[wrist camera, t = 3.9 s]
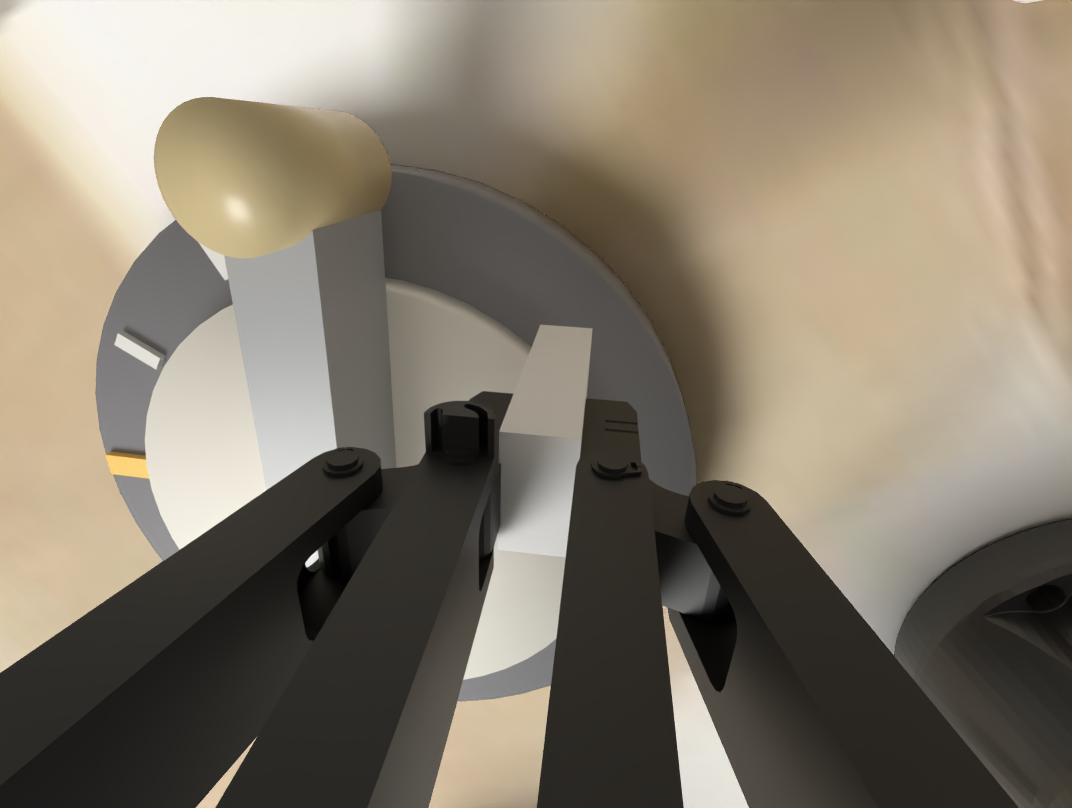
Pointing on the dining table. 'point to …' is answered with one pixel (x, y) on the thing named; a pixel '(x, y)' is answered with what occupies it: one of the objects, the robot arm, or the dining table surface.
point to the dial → (316, 337)
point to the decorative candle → (1026, 1)
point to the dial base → (427, 260)
